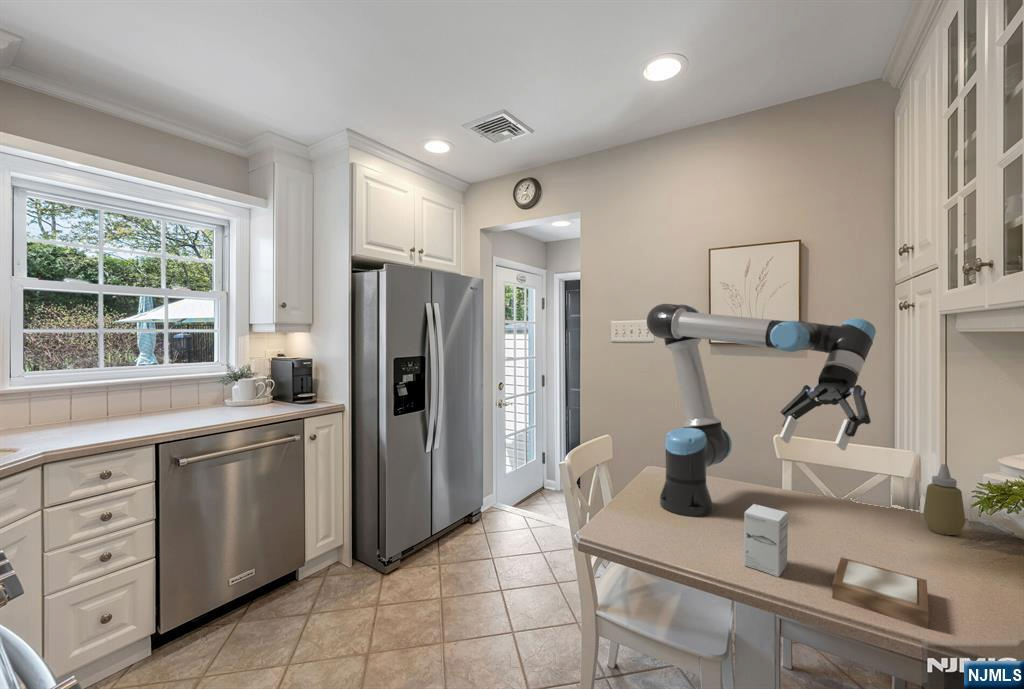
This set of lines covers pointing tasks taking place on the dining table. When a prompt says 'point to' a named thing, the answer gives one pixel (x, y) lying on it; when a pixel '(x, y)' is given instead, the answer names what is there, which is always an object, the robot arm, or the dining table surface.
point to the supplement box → (765, 539)
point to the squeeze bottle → (944, 504)
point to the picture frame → (882, 591)
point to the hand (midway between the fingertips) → (810, 443)
